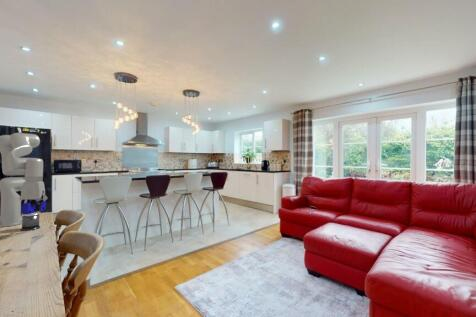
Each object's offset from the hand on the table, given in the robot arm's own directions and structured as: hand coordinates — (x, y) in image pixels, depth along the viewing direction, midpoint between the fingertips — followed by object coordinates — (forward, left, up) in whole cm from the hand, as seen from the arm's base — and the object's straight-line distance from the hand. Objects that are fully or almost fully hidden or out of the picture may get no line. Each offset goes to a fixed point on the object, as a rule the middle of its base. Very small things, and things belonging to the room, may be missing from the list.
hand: (33, 210), depth 130 cm
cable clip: (0, 0, -1) cm, 1 cm away
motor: (-10, +12, -14) cm, 21 cm away
